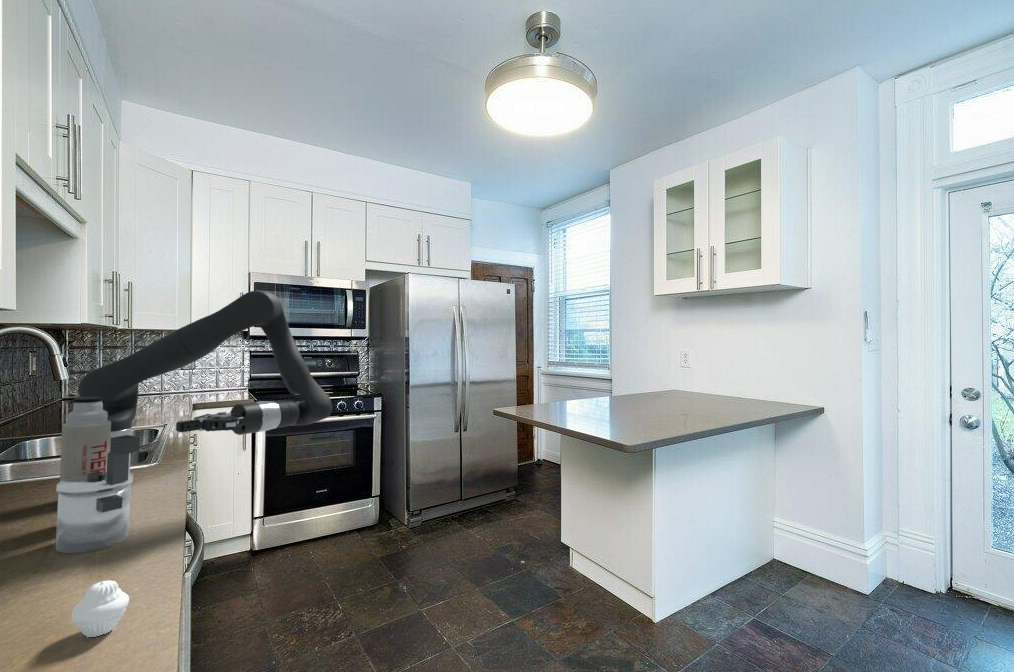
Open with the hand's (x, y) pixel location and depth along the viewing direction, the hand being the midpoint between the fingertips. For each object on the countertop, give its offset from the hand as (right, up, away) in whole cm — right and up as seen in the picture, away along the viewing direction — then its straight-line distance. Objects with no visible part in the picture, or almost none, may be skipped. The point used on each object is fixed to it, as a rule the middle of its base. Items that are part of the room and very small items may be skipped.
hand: (177, 427), depth 100 cm
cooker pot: (-11, -22, -8) cm, 26 cm away
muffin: (+14, -22, -35) cm, 44 cm away
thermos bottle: (-22, -22, +1) cm, 31 cm away
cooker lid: (-11, -11, -7) cm, 16 cm away
